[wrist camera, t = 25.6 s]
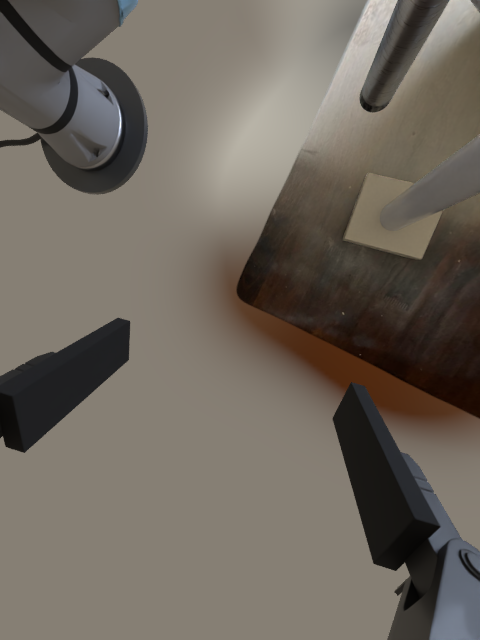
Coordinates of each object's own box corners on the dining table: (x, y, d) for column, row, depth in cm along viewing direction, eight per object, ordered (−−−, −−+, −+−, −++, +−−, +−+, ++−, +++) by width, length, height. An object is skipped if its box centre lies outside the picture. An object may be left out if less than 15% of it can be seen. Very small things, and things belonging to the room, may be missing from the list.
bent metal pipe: (483, 186, 24) (715, 74, 11) (438, 219, 25) (602, 151, 12) (387, 63, 24) (509, -194, 11) (346, 102, 25) (414, -91, 12)
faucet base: (444, 195, 36) (719, 44, 13) (416, 260, 38) (613, 225, 15) (365, 176, 37) (489, 14, 15) (341, 240, 39) (420, 182, 17)
